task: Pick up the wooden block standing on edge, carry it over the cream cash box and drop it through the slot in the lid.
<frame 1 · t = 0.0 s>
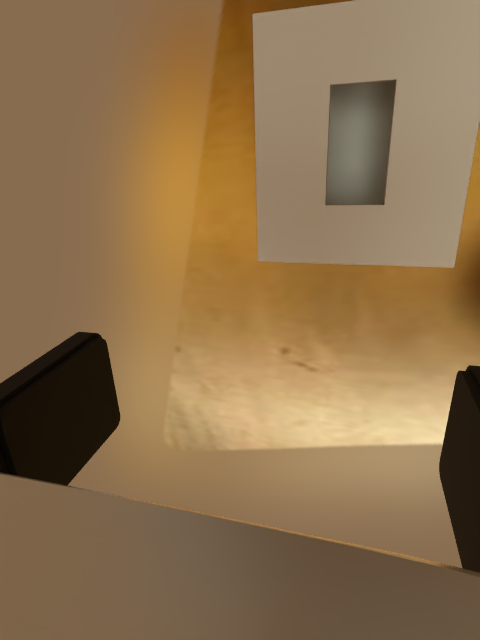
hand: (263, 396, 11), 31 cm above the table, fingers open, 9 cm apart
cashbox: (358, 146, 36), on the table
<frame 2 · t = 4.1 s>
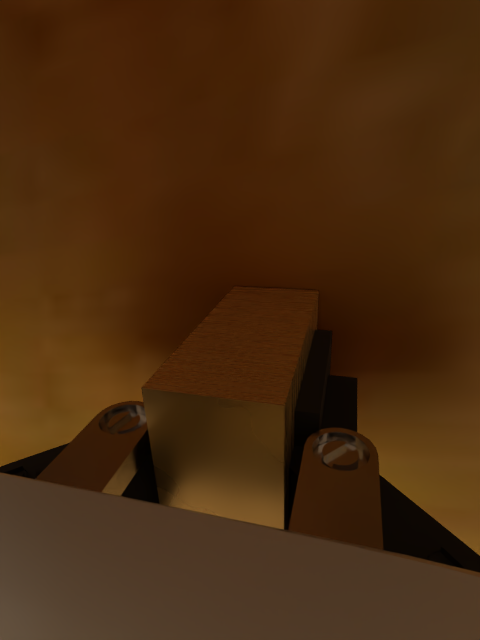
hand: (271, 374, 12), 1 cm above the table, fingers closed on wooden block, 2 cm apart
wooden block: (275, 366, 12), on the table, touching gripper
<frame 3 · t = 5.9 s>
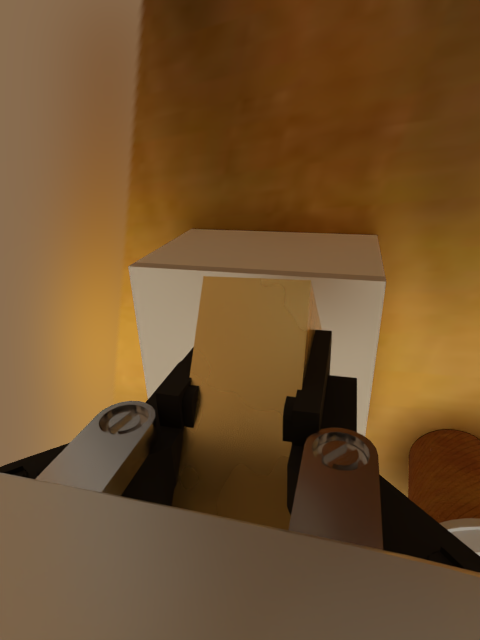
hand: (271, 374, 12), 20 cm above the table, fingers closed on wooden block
wooden block: (280, 400, 13), point 19 cm above the table, tilted 37°, touching gripper
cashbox: (277, 327, 33), on the table
disposable coffee cup: (448, 456, 35), on the table
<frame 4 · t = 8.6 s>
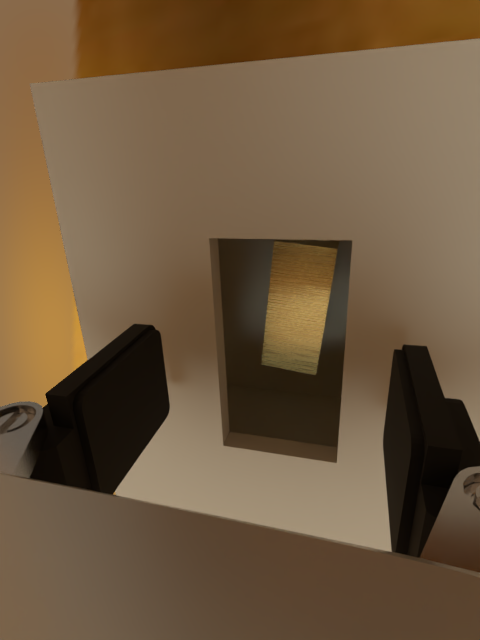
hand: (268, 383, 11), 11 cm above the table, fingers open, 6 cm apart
wooden block: (296, 344, 20), point 3 cm above the table, tilted 90°, touching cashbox
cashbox: (311, 271, 21), on the table
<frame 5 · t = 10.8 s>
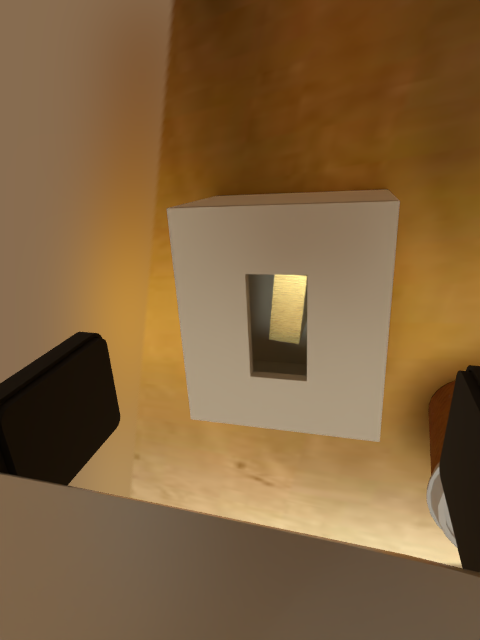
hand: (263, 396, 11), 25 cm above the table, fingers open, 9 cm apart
wooden block: (288, 329, 34), point 3 cm above the table, tilted 90°, touching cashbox
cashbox: (297, 286, 36), on the table
disposable coffee cup: (466, 408, 36), on the table
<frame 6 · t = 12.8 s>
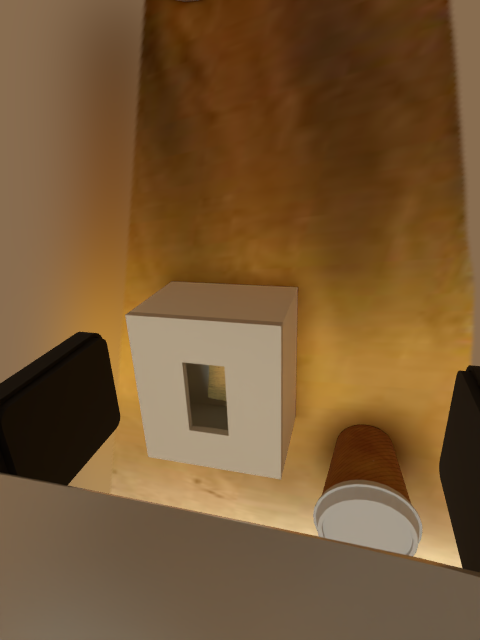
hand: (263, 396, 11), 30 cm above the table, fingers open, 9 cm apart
wooden block: (225, 387, 44), point 3 cm above the table, tilted 90°, touching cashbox
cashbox: (235, 351, 46), on the table
disposable coffee cup: (364, 445, 47), on the table
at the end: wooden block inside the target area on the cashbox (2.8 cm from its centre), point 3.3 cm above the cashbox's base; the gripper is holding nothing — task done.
